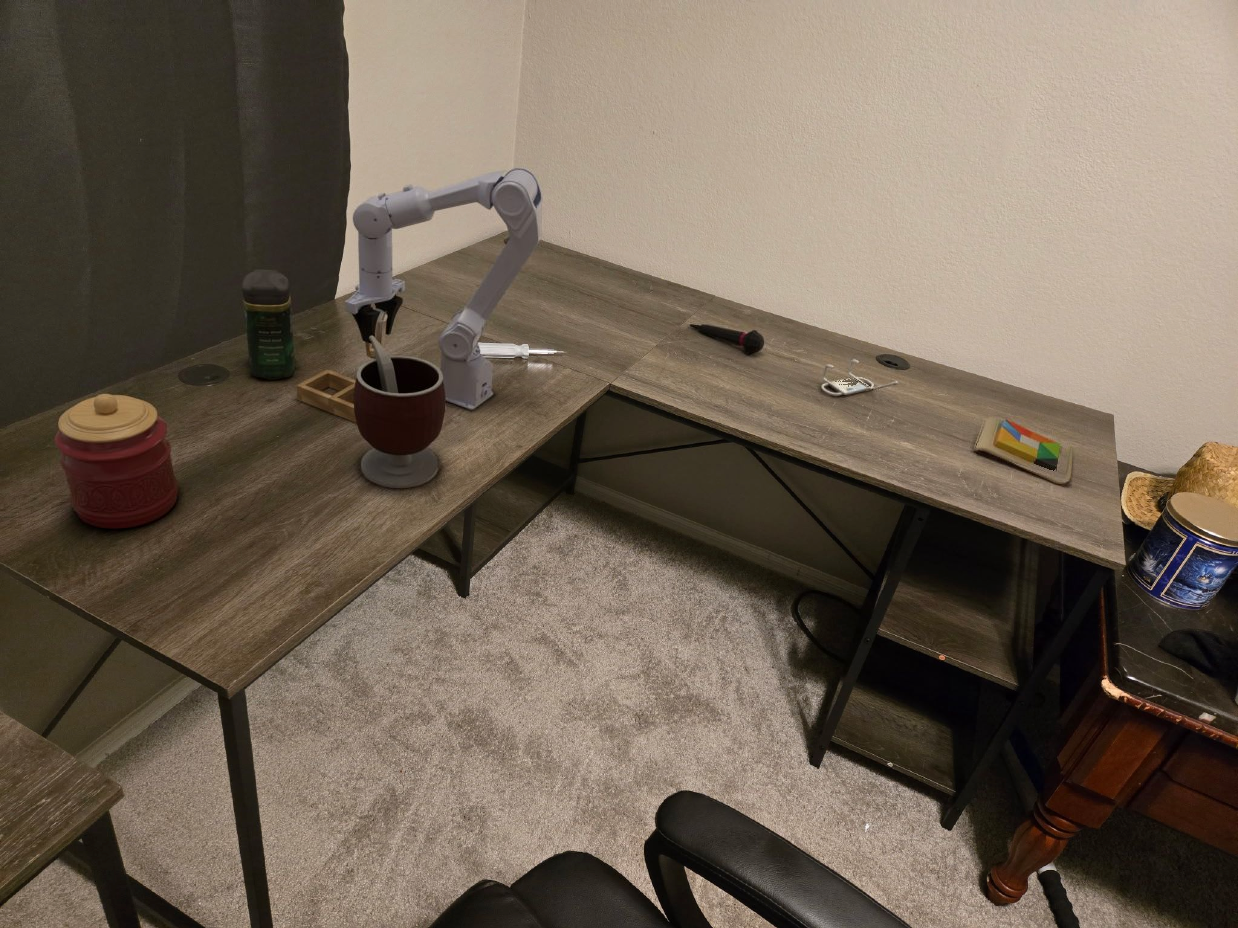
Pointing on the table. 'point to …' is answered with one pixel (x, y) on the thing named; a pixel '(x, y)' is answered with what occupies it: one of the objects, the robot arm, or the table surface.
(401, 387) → the mate gourd
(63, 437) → the kitchen canister
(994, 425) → the wooden puzzle
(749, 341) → the microphone
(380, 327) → the milkshake
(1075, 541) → the table surface
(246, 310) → the coffee jar
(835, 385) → the wall mount rack
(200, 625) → the table surface
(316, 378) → the rack
